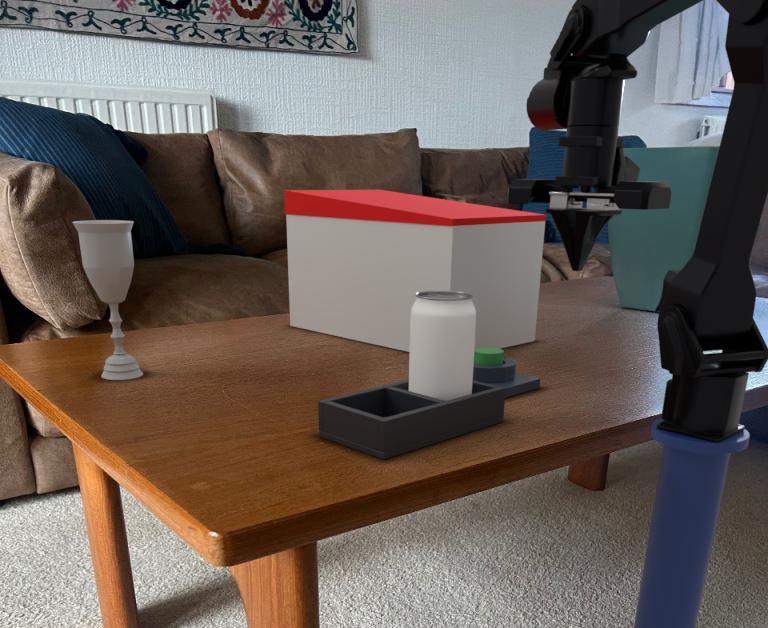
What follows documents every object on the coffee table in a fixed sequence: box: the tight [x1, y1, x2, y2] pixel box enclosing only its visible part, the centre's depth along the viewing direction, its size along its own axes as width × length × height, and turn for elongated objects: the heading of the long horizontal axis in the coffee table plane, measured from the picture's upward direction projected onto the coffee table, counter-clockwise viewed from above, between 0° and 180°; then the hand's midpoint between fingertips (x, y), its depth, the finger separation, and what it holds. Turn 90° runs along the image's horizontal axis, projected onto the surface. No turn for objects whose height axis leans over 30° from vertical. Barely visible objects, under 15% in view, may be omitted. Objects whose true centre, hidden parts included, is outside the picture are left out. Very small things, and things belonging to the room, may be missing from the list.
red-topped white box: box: [283, 189, 547, 353], centre depth 121 cm, size 21×35×21 cm, turn 45°
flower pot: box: [607, 145, 720, 312], centre depth 146 cm, size 20×20×28 cm
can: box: [408, 291, 476, 401], centre depth 78 cm, size 6×6×12 cm
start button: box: [474, 347, 505, 366], centre depth 93 cm, size 4×4×2 cm
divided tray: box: [317, 379, 506, 460], centre depth 78 cm, size 9×17×4 cm, turn 134°
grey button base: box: [473, 357, 541, 399], centre depth 94 cm, size 10×8×3 cm
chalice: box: [72, 219, 144, 381], centre depth 94 cm, size 7×7×18 cm
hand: (577, 270), depth 94 cm, fingers closed
